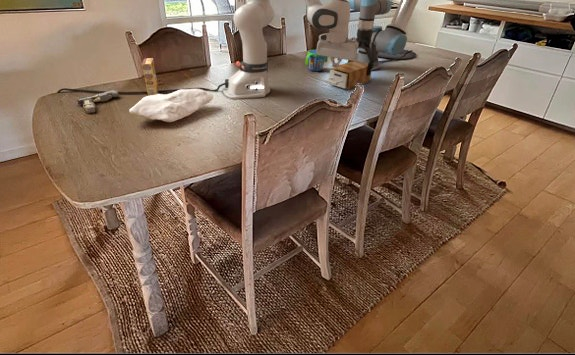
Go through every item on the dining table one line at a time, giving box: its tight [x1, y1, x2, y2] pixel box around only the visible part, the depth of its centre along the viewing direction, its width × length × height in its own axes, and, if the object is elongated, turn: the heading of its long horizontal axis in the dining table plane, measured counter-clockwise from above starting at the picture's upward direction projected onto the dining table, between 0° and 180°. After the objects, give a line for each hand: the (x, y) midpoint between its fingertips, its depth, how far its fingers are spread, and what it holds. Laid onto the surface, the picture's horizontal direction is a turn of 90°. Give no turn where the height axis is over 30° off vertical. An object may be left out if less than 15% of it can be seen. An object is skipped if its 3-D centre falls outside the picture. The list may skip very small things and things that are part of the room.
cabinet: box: [332, 61, 373, 90], centre depth 190 cm, size 19×11×9 cm, turn 136°
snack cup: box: [304, 49, 329, 72], centre depth 207 cm, size 16×10×10 cm
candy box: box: [141, 57, 160, 96], centre depth 163 cm, size 9×4×15 cm, turn 13°
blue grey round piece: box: [378, 48, 417, 60], centre depth 248 cm, size 35×35×9 cm
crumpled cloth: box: [129, 88, 214, 123], centre depth 147 cm, size 24×35×9 cm
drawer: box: [323, 69, 349, 89], centre depth 186 cm, size 24×10×7 cm, turn 136°
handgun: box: [76, 89, 120, 114], centre depth 155 cm, size 3×18×15 cm
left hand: (335, 66), depth 176 cm, fingers closed
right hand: (358, 72), depth 194 cm, fingers closed on cabinet, 11 cm apart
